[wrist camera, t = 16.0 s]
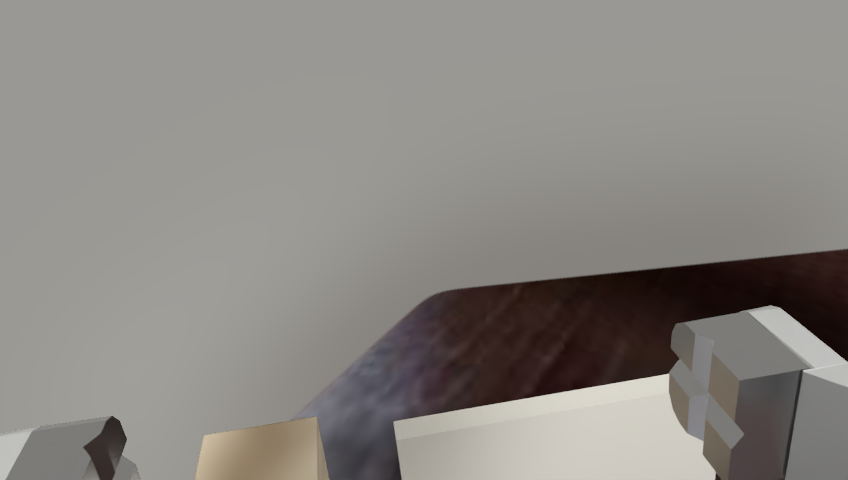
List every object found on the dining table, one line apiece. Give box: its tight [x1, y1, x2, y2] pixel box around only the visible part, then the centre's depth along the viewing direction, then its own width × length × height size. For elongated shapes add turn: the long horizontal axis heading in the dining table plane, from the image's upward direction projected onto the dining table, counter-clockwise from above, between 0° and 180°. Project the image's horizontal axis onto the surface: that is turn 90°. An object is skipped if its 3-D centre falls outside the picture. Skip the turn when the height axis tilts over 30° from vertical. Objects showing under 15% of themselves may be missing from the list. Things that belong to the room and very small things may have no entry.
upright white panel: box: [393, 374, 716, 480], centre depth 40 cm, size 18×2×10 cm, turn 99°
